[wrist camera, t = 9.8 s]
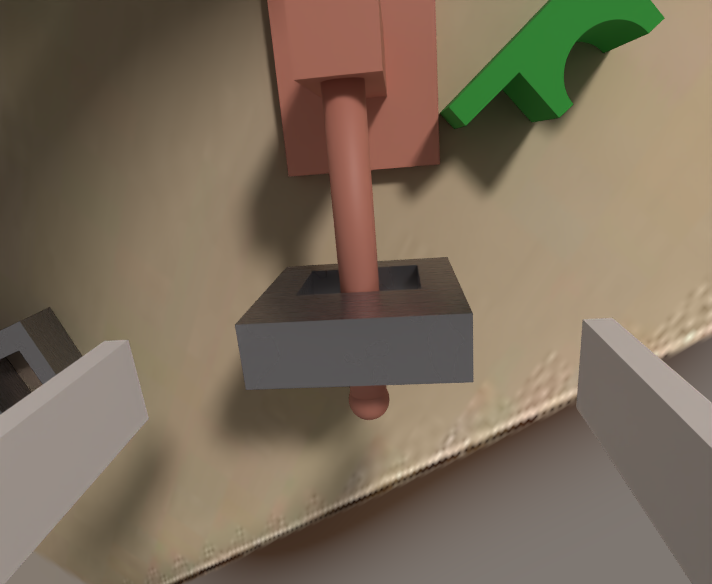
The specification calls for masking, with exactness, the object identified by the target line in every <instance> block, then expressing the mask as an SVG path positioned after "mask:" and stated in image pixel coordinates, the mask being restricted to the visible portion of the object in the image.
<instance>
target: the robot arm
mask: <svg viewBox="0 0 712 584" xmlns="http://www.w3.org/2000/svg"><path fill="white" fill-rule="evenodd" d="M576 407H577V409H578V411H579V412H580V413H581V415H582V417H583V418H584V420H585V421H586V423H587V424H588V426H589V427H590V429H591V430H592V432H593V433H594V435H595V436H596V438H597V440H598V441H599V442H600V444H601V446H602V447H603V449H604V450H605V452H606V453H607V455H608V456H609V458H610V459H611V461H612V462H613V464H614V466H615V467H616V468H617V470H618V471H619V473H620V475H621V476H622V478H623V479H624V481H625V482H626V484H627V485H628V487H629V488H630V490H631V491H632V493H633V495H634V496H635V497H636V499H637V501H638V502H639V504H640V505H641V507H642V508H643V510H644V511H645V513H646V514H647V516H648V517H649V519H650V520H651V522H652V523H653V525H654V527H655V528H656V530H657V531H658V533H659V534H660V536H661V537H662V539H663V540H664V542H665V543H666V545H667V546H668V548H669V549H670V551H671V552H672V554H673V556H674V557H675V558H676V560H677V561H678V563H679V564H680V566H681V568H682V569H683V571H684V572H685V574H686V575H687V577H688V578H689V580H690V581H691V583H692V584H712V403H711V402H710V401H709V400H708V399H707V398H705V397H704V396H703V395H702V394H700V392H698V391H697V390H696V389H695V388H694V387H692V386H691V385H690V384H689V383H688V382H687V381H686V380H684V379H683V378H682V377H681V376H680V375H679V374H677V373H676V372H675V371H674V370H672V368H670V367H669V366H668V365H667V364H666V363H665V362H663V361H662V360H661V359H660V358H659V357H657V356H656V355H655V354H654V353H653V352H652V351H650V350H649V349H648V348H647V347H646V346H645V345H643V344H642V343H641V342H640V341H639V340H638V339H636V338H635V337H634V336H633V335H632V334H631V333H629V332H628V331H627V330H626V329H625V328H624V327H622V326H621V325H620V324H619V323H618V322H617V321H615V320H614V319H613V318H600V319H583V324H582V337H581V351H580V365H579V378H578V392H577V406H576ZM148 419H149V418H148V414H147V410H146V406H145V403H144V399H143V395H142V391H141V387H140V383H139V379H138V375H137V372H136V368H135V364H134V360H133V356H132V352H131V348H130V344H129V341H128V340H114V341H104V342H102V343H101V344H99V345H98V346H97V347H95V348H94V349H92V350H91V351H90V352H88V353H87V354H85V355H84V356H83V357H81V358H80V359H78V360H77V361H75V362H74V363H73V364H71V365H70V366H68V367H67V368H66V369H64V370H63V371H61V372H60V373H59V374H57V375H56V376H54V377H53V378H51V379H50V380H49V381H47V382H46V383H44V384H43V385H42V386H40V387H39V388H37V389H36V390H35V391H33V392H32V393H30V394H29V395H27V396H26V397H25V398H23V399H22V400H20V401H19V402H18V403H16V404H15V405H13V406H12V407H11V408H9V409H8V410H6V411H5V412H3V413H2V414H1V415H0V584H5V583H6V582H7V581H8V579H9V578H10V577H11V576H12V575H13V573H14V572H15V571H16V570H17V569H18V568H19V567H20V566H21V564H22V563H23V562H24V561H25V560H26V559H27V558H28V556H29V555H30V554H31V553H32V552H33V551H34V550H35V548H36V547H37V546H38V545H39V544H40V543H41V542H42V540H43V539H44V538H45V537H46V536H47V535H48V534H49V532H50V531H51V530H52V529H53V528H54V527H55V525H56V524H57V523H58V522H59V521H60V520H61V519H62V517H63V516H64V515H65V514H66V513H67V512H68V511H69V509H70V508H71V507H72V506H73V505H74V504H75V503H76V501H77V500H78V499H79V498H80V497H81V496H82V495H83V493H84V492H85V491H86V490H87V489H88V488H89V486H90V485H91V484H92V483H93V482H94V481H95V480H96V478H97V477H98V476H99V475H100V474H101V473H102V472H103V470H104V469H105V468H106V467H107V466H108V465H109V464H110V462H111V461H112V460H113V459H114V458H115V457H116V456H117V454H118V453H119V452H120V451H121V450H122V449H123V448H124V446H125V445H126V444H127V443H128V442H129V441H130V439H131V438H132V437H133V436H134V435H135V434H136V433H137V431H138V430H139V429H140V428H141V427H142V426H143V425H144V423H145V422H146V421H147V420H148Z"/></svg>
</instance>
